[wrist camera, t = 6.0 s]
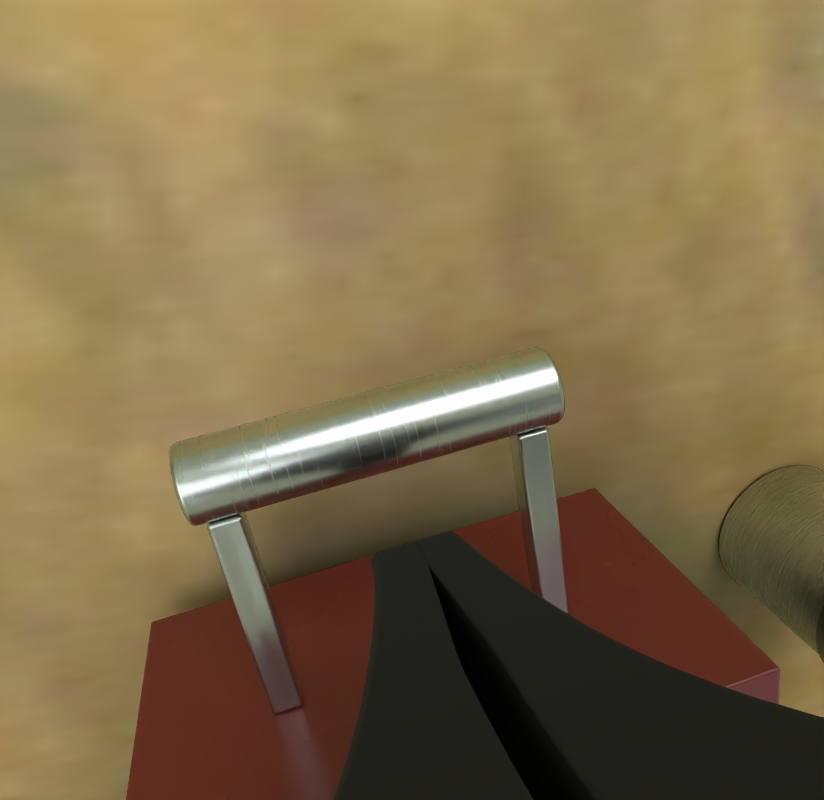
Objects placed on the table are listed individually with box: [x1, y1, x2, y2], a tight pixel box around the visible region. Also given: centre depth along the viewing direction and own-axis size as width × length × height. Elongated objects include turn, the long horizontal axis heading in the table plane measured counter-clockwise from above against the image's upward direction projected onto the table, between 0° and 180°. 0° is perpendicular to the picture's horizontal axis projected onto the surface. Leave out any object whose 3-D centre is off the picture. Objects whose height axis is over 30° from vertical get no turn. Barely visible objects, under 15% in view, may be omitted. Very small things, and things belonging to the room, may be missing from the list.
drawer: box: [126, 347, 780, 800], centre depth 16 cm, size 19×11×7 cm, turn 10°
